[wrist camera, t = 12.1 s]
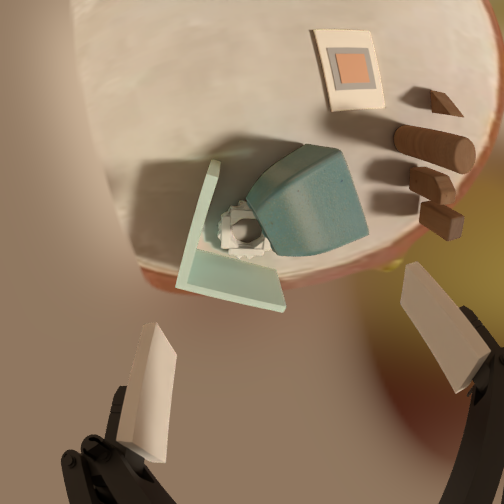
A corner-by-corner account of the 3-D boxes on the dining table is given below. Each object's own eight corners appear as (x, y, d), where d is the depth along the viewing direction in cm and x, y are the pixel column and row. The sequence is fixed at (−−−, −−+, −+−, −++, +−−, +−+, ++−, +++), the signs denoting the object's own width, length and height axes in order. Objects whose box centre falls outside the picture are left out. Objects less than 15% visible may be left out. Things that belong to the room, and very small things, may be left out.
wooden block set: (433, 214, 34) (481, 244, 25) (390, 222, 33) (440, 259, 24) (435, 92, 25) (494, 98, 16) (388, 85, 24) (451, 84, 15)
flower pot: (233, 178, 29) (305, 142, 28) (267, 243, 32) (333, 209, 32) (244, 197, 21) (342, 148, 20) (288, 282, 25) (371, 236, 24)
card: (313, 30, 21) (314, 29, 21) (368, 31, 21) (370, 30, 21) (330, 111, 26) (332, 111, 26) (383, 107, 26) (386, 108, 25)
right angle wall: (273, 274, 36) (283, 312, 30) (184, 251, 33) (175, 287, 27) (311, 192, 31) (333, 216, 24) (211, 158, 28) (206, 174, 22)
